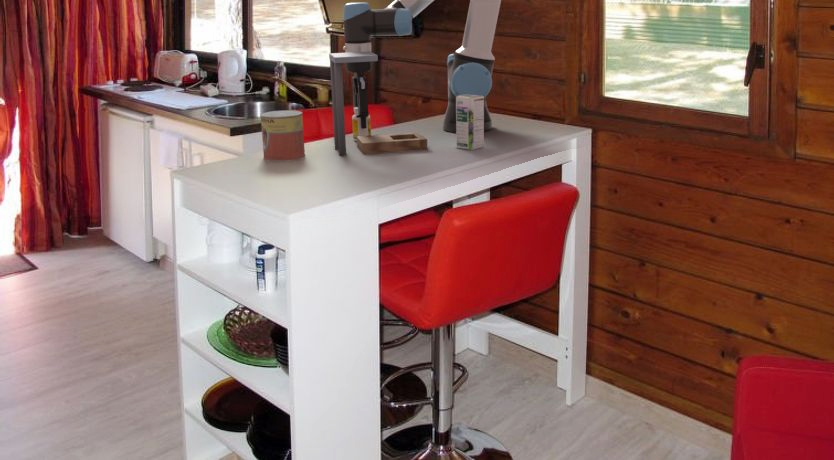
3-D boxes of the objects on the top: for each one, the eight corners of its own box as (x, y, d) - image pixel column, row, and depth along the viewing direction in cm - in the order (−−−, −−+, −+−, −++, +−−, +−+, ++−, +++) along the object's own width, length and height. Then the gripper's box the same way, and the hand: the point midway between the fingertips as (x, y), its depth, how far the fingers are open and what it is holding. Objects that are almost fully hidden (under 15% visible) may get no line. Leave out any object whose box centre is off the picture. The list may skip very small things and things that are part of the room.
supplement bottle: (365, 137, 277) (364, 105, 275) (374, 140, 273) (373, 107, 270) (349, 139, 274) (348, 107, 272) (358, 142, 270) (357, 109, 267)
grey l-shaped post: (374, 145, 265) (370, 51, 258) (381, 153, 254) (377, 55, 246) (334, 148, 263) (329, 53, 255) (339, 156, 252) (334, 57, 244)
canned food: (259, 155, 255) (255, 112, 252) (298, 151, 260) (295, 109, 256) (269, 163, 245) (266, 118, 242) (310, 158, 250) (307, 114, 246)
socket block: (419, 142, 267) (418, 132, 266) (427, 149, 257) (427, 139, 256) (357, 146, 264) (356, 136, 263) (363, 154, 253) (362, 143, 252)
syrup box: (455, 148, 258) (454, 96, 254) (469, 144, 262) (468, 93, 258) (471, 150, 254) (470, 97, 250) (484, 147, 258) (484, 95, 254)
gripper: (341, 55, 275) (345, 132, 281) (350, 61, 258) (353, 143, 264) (366, 54, 276) (369, 131, 283) (376, 60, 259) (379, 142, 266)
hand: (362, 137), depth 273 cm, fingers closed on supplement bottle, 5 cm apart
